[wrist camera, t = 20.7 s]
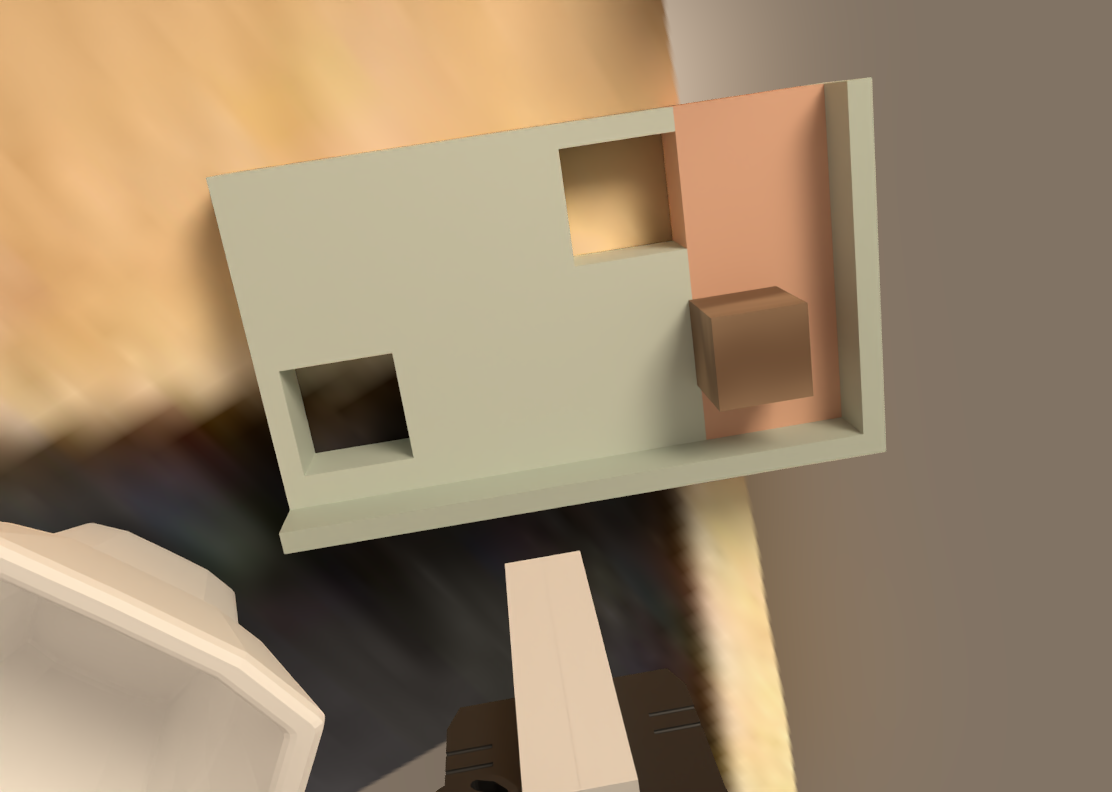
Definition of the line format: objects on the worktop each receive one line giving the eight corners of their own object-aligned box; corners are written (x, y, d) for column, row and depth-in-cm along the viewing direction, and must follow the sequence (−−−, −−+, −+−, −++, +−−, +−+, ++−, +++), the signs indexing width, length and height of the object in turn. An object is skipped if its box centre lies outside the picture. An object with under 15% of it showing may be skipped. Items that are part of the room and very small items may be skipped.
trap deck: (224, 173, 40) (187, 181, 35) (820, 83, 41) (871, 77, 36) (306, 503, 45) (284, 554, 40) (838, 414, 46) (886, 451, 41)
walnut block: (688, 300, 41) (711, 318, 37) (776, 286, 41) (807, 302, 37) (697, 385, 42) (719, 411, 38) (782, 371, 42) (813, 396, 38)
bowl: (228, 818, 50) (139, 1072, 36) (-131, 667, 45) (-380, 893, 32) (399, 548, 46) (371, 721, 33) (27, 356, 42) (-180, 464, 28)
